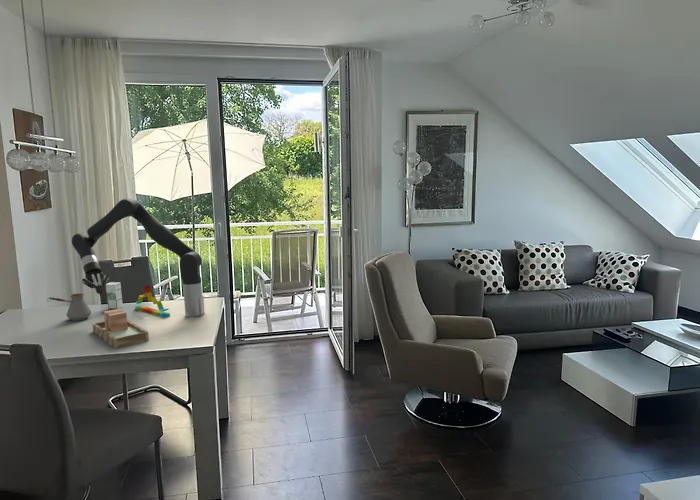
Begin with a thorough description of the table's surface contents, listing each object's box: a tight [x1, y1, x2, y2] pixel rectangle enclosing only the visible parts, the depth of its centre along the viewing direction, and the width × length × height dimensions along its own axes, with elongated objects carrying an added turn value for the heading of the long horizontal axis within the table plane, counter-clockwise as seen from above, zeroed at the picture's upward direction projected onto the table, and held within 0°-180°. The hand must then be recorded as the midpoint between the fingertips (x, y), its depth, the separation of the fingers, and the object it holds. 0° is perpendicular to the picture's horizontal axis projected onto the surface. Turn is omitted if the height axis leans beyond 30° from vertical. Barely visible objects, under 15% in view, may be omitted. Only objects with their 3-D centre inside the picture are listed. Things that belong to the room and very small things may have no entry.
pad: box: [110, 328, 140, 338], centre depth 224 cm, size 10×12×2 cm
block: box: [103, 308, 128, 333], centre depth 230 cm, size 10×7×8 cm
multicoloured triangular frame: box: [134, 285, 171, 319], centre depth 267 cm, size 30×3×15 cm, turn 51°
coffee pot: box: [47, 293, 92, 322], centre depth 254 cm, size 21×12×15 cm, turn 156°
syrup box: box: [105, 281, 124, 310], centre depth 279 cm, size 6×6×14 cm
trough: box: [91, 319, 150, 349], centre depth 228 cm, size 33×14×4 cm, turn 42°
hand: (100, 293), depth 245 cm, fingers closed
